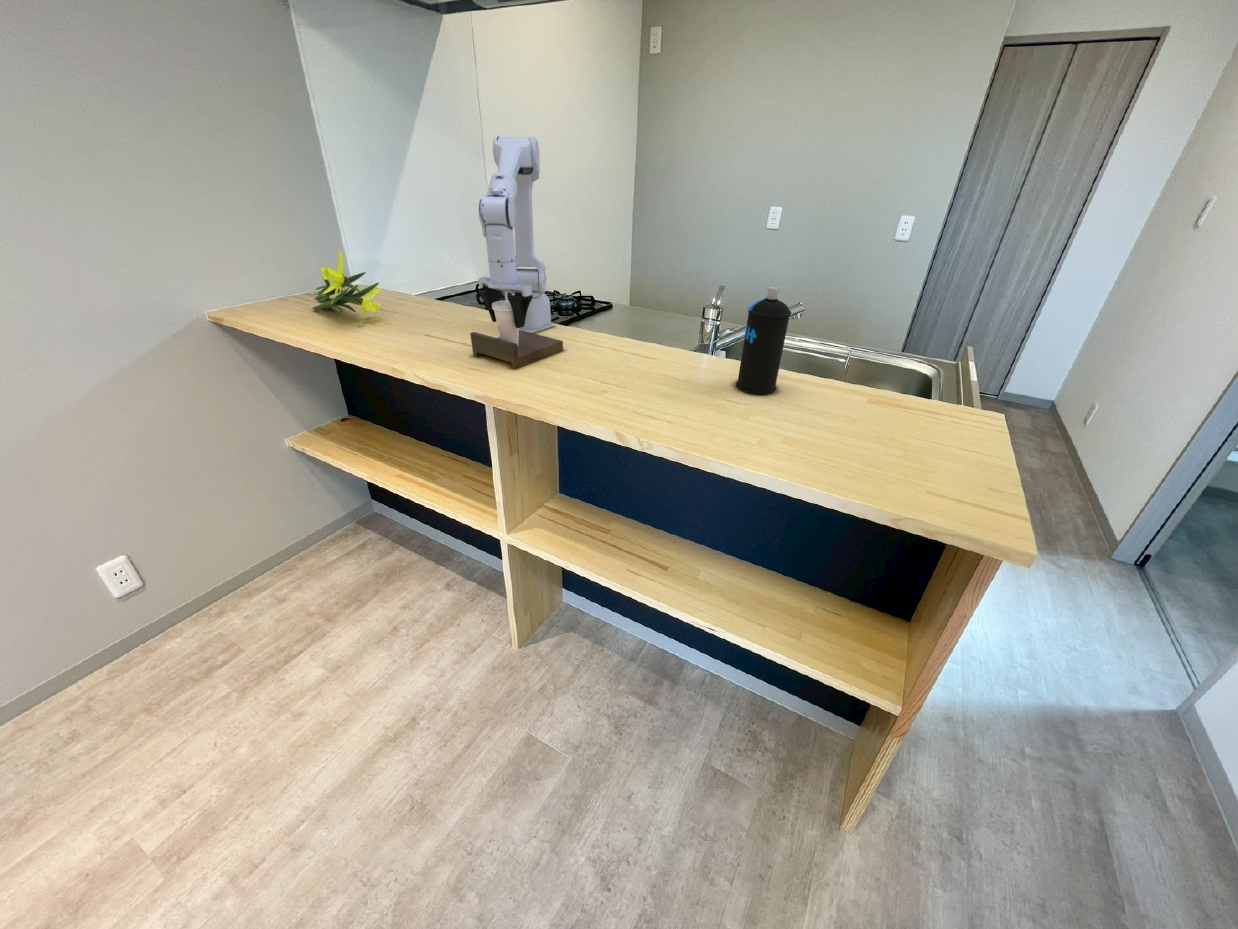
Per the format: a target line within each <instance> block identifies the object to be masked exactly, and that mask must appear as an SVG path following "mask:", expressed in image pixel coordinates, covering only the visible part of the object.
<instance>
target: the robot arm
mask: <svg viewBox="0 0 1238 929" xmlns="http://www.w3.org/2000/svg"><path fill="white" fill-rule="evenodd" d="M492 154H493V160H494V163H495V165H496V167H497V171H496V172H495V173H493V174H492V176H491V177H490V179H489V184H488V187H487V191H486V195H485V196H483V197H482V198H481V199H479V200H478V218H479V222H480V225H481V230H482V235H483V238H485V244H486V253H487V261H488V270H489V276H483V277H478V286H479V288H482V289H480V290H478V295H479V296H480V298H481V299H482V300H483V303H484V305H485V306H486V309H487V310H488V314H489V316H490V319H491V322H493V323H497V321H496V317H495V313H494V310H493V309H492V303H494V302H496V301H502V297H503V296H502V295H503V292H505V291H506V292H507V293H509V294H511V295H508V300H509V302H510V305H511V307H512V311H513V315H514V322H515V326H516V328H519V331H521V330H522V331H526V332H530V333H534V334H535V333H537V332H541V331H543V330H546V329H549V328H552V327H554V324H553V323H552V312H551V302H550V301H551V300H550V299H549V297H548V296H547V294H546V291H547V274H546V265H545V263H544V262H543V261H542V260H541V259H540V258H538V257H537V256H536V255H535V253H534V252H535V248H534V246H535V245H534V221H533V220H534V218H533V215H534V214H533V187H534V182H536V181H538V180H539V179H540V173H541V164H540V163H541V161H540V146H539V142H538V139H537V138H536V136H534V135H533V136H532V135H531V136H500V135H495V136H494V138H493V140H492ZM518 267H519V268H518ZM520 267H521V268H520ZM522 267H523V268H522ZM524 267H525V268H524Z"/></svg>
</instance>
